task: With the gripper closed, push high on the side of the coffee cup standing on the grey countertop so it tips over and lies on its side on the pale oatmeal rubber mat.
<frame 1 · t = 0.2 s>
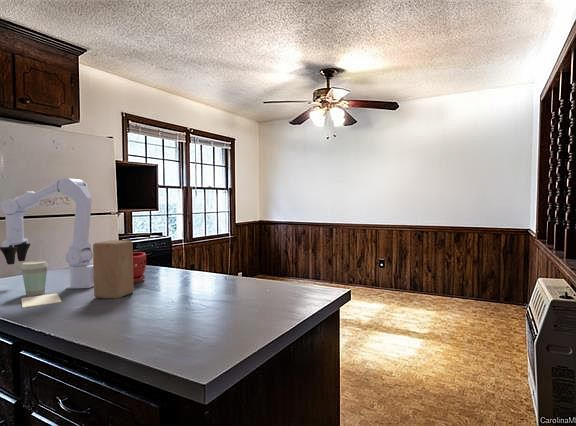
hand: (16, 262, 150), 10 cm above the counter, fingers open, 7 cm apart
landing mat: (41, 300, 129), on the counter
wooden block: (114, 295, 136), on the counter
coffee cup: (35, 294, 139), on the counter
plant pot: (130, 282, 159), on the counter
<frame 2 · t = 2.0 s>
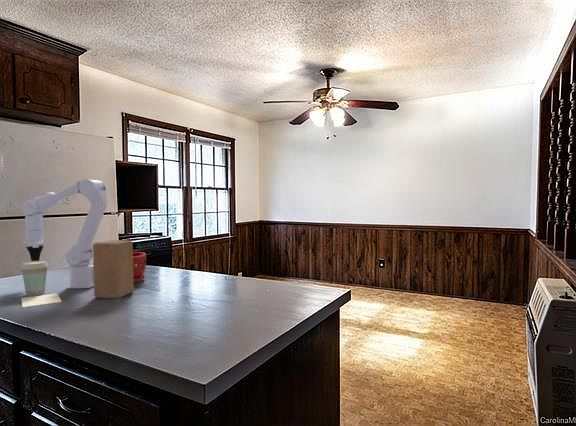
hand: (35, 263, 150), 10 cm above the counter, fingers closed
nothing on the counter moved.
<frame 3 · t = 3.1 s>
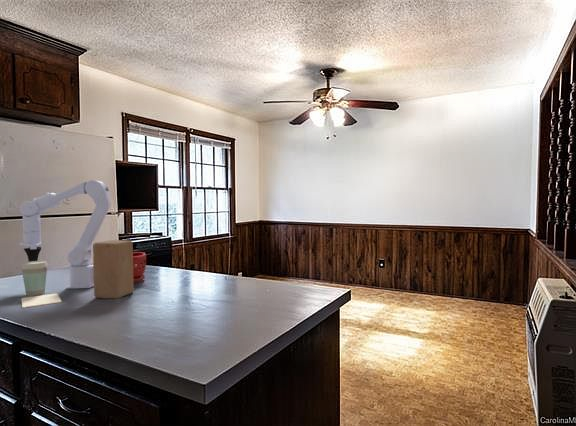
hand: (33, 265, 146), 9 cm above the counter, fingers closed
nothing on the counter moved.
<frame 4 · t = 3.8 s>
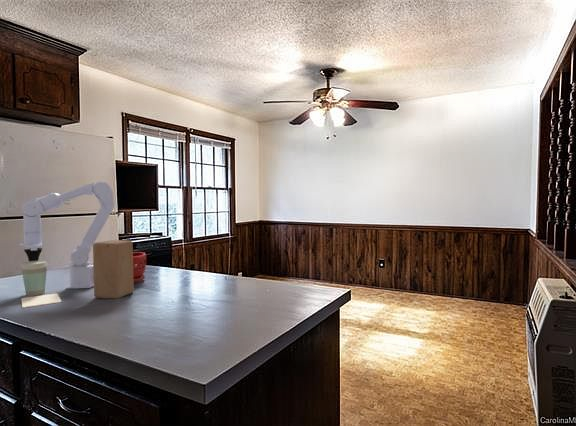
hand: (33, 267, 142), 9 cm above the counter, fingers closed, pressing on coffee cup
coffee cup: (35, 294, 139), on the counter, touching gripper
everything else where it was.
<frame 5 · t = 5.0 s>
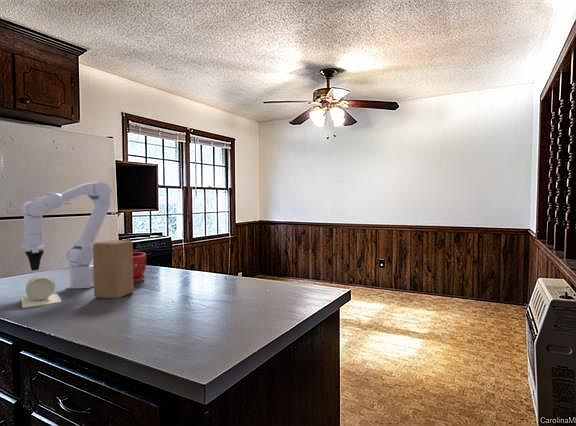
hand: (35, 270, 137), 9 cm above the counter, fingers closed
coffee cup: (37, 284, 137), point 4 cm above the counter, touching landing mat
everything else where it was.
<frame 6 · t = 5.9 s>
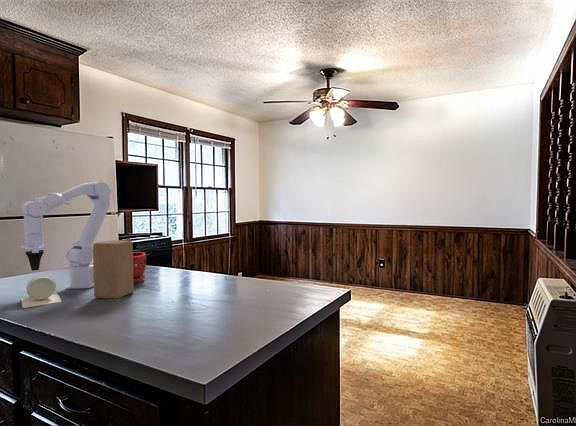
hand: (35, 270, 137), 9 cm above the counter, fingers closed
nothing on the counter moved.
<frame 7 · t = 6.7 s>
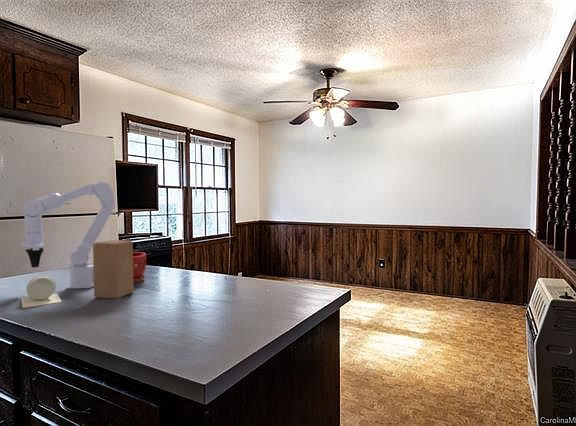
hand: (35, 267, 143), 9 cm above the counter, fingers closed
nothing on the counter moved.
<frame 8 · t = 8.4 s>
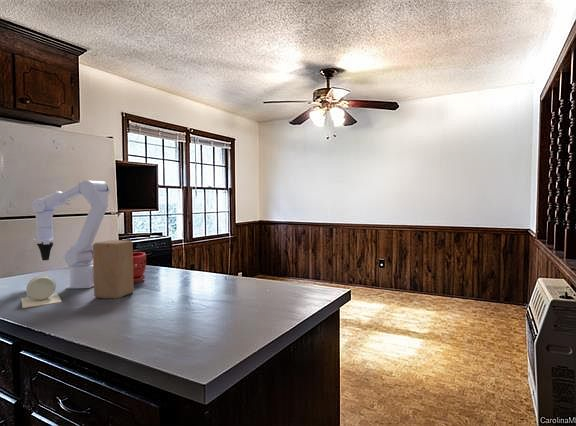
hand: (45, 260, 153), 10 cm above the counter, fingers closed
nothing on the counter moved.
at the end: coffee cup tilted 86°; coffee cup touching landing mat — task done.
